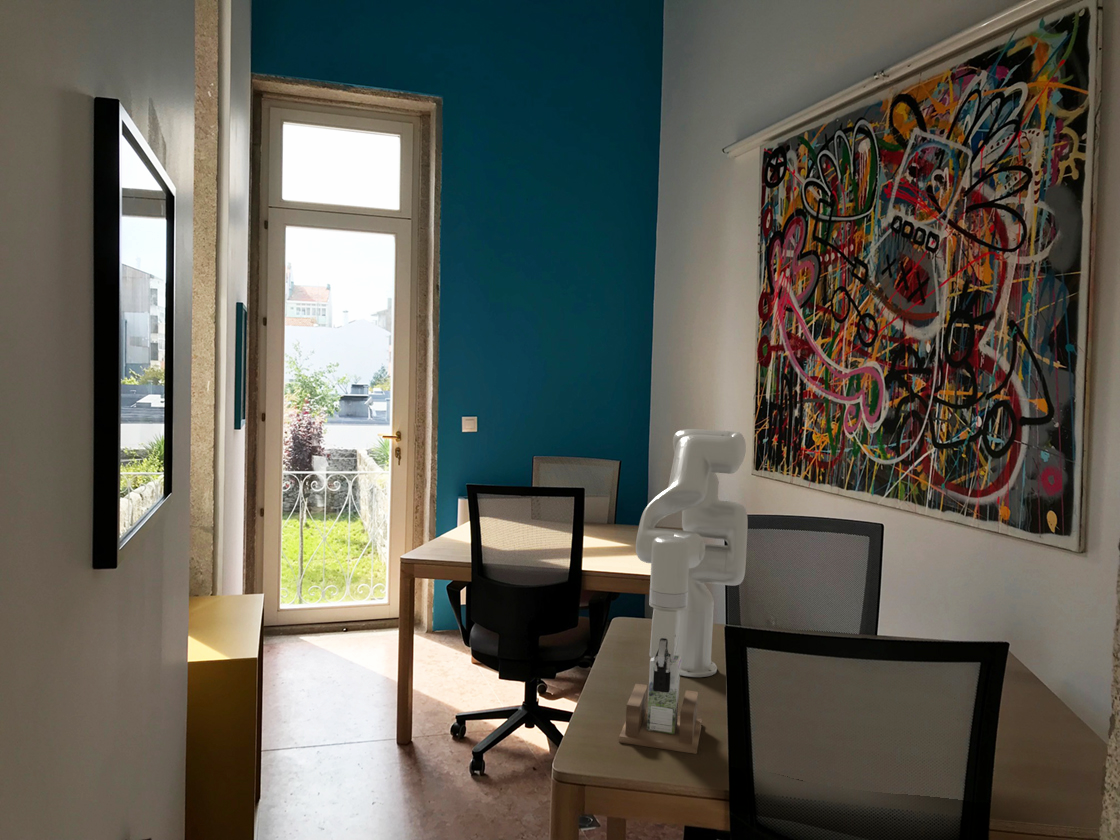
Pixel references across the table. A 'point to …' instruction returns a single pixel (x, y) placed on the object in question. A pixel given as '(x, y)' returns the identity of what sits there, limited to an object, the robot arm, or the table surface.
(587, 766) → the table surface
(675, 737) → the slot block
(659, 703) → the syrup box
